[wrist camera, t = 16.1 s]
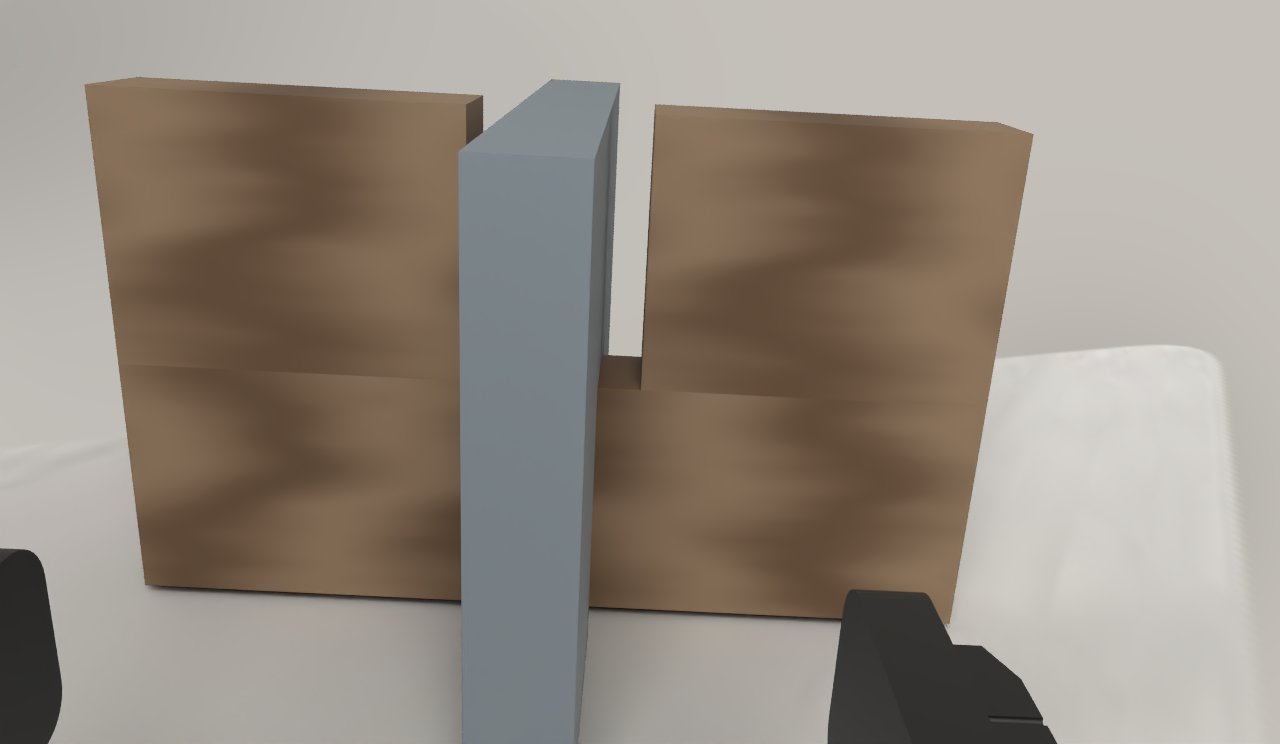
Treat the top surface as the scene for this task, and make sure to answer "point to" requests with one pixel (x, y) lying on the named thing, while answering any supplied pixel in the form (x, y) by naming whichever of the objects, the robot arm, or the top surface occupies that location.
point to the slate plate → (532, 404)
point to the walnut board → (628, 386)
